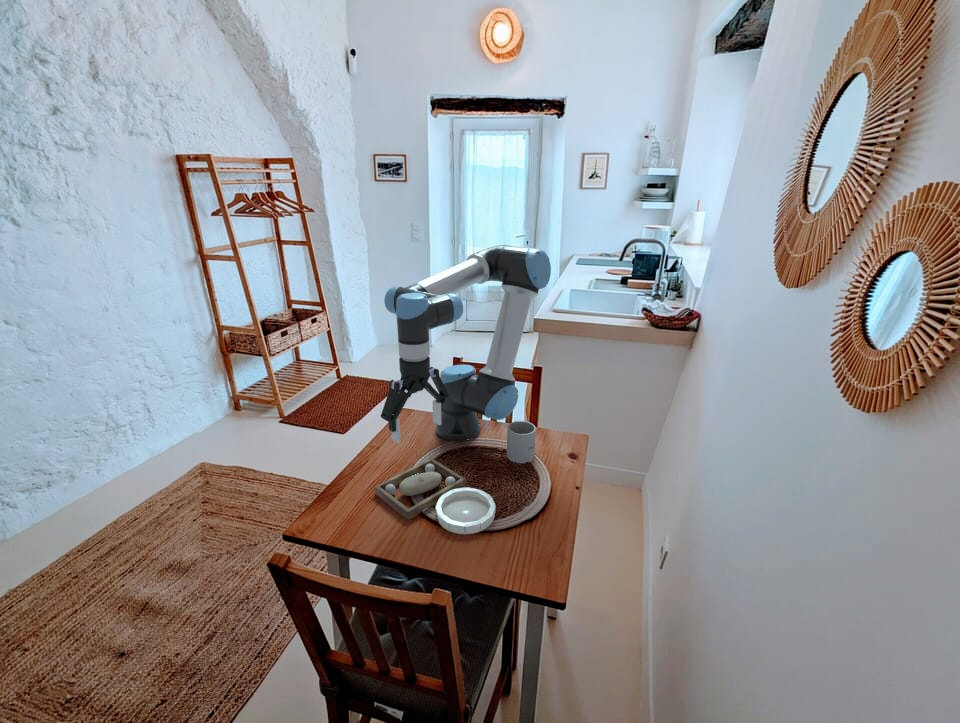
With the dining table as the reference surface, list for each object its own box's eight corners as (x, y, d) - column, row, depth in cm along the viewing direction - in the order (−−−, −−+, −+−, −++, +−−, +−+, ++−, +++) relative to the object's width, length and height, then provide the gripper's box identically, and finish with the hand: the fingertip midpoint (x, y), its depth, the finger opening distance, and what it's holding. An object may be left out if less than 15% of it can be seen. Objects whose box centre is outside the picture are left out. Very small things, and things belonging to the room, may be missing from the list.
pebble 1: (391, 489, 131) (391, 480, 130) (398, 494, 129) (397, 485, 128) (382, 494, 129) (382, 484, 128) (389, 499, 127) (388, 489, 126)
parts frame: (431, 464, 142) (431, 457, 142) (465, 486, 133) (465, 478, 132) (375, 494, 129) (374, 486, 128) (408, 520, 119) (407, 512, 119)
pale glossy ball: (430, 468, 141) (430, 460, 139) (437, 473, 139) (436, 464, 137) (422, 473, 139) (422, 464, 137) (429, 477, 137) (428, 468, 135)
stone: (447, 480, 131) (411, 486, 123) (438, 495, 134) (403, 502, 125) (437, 465, 135) (402, 469, 126) (429, 480, 137) (393, 486, 129)
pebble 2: (450, 481, 135) (450, 473, 134) (457, 486, 133) (457, 477, 132) (442, 486, 133) (442, 477, 132) (450, 491, 131) (449, 482, 130)
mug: (524, 466, 142) (525, 437, 138) (501, 456, 147) (502, 428, 143) (545, 449, 151) (547, 421, 147) (522, 440, 156) (524, 413, 152)
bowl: (466, 488, 132) (466, 480, 131) (506, 514, 122) (506, 505, 121) (424, 513, 122) (424, 505, 121) (464, 543, 112) (464, 535, 111)
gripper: (442, 341, 127) (443, 412, 135) (362, 365, 111) (368, 443, 118) (461, 348, 122) (461, 421, 130) (380, 374, 106) (386, 455, 113)
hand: (417, 432), depth 124 cm, fingers open, 13 cm apart
